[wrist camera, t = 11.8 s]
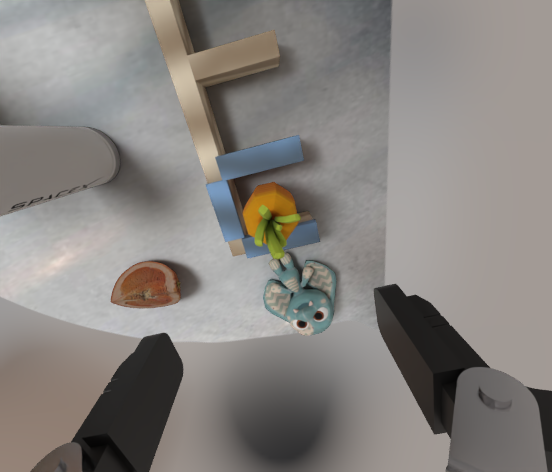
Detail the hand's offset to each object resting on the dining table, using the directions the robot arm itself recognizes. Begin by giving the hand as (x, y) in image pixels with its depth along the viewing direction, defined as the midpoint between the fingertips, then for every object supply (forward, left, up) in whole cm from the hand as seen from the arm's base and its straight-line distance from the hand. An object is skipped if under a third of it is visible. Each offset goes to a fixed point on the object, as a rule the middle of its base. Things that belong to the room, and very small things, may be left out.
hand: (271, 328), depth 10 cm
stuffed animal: (+14, 0, -24) cm, 28 cm away
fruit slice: (+8, -18, -24) cm, 31 cm away
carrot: (0, 0, -24) cm, 24 cm away
